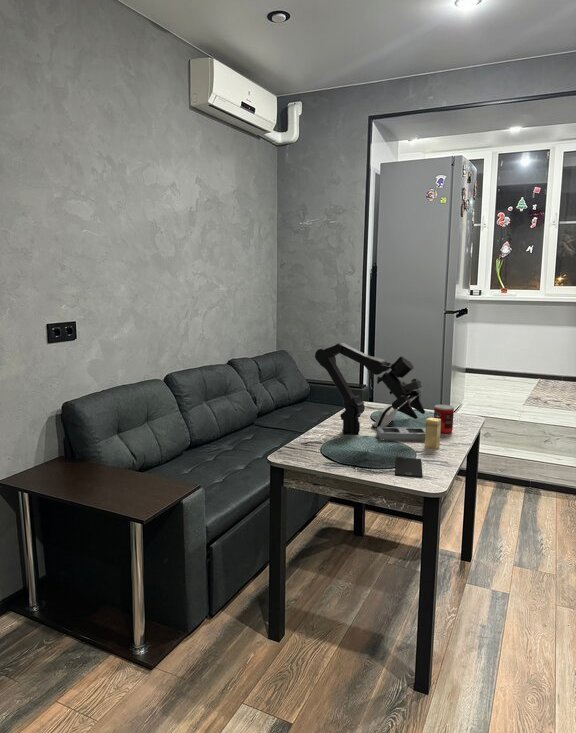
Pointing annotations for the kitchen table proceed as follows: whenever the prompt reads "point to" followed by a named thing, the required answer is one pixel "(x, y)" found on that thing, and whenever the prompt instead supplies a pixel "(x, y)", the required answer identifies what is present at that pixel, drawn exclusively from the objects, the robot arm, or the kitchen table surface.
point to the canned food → (445, 417)
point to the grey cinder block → (401, 433)
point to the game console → (385, 416)
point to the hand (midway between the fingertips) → (420, 415)
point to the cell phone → (408, 467)
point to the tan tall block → (432, 433)
